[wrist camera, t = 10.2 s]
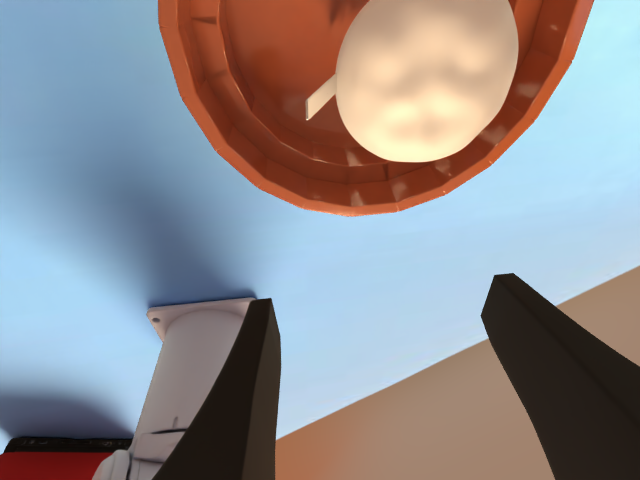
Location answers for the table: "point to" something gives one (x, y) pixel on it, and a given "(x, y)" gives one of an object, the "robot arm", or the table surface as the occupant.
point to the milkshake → (419, 73)
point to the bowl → (326, 125)
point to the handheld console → (56, 458)
